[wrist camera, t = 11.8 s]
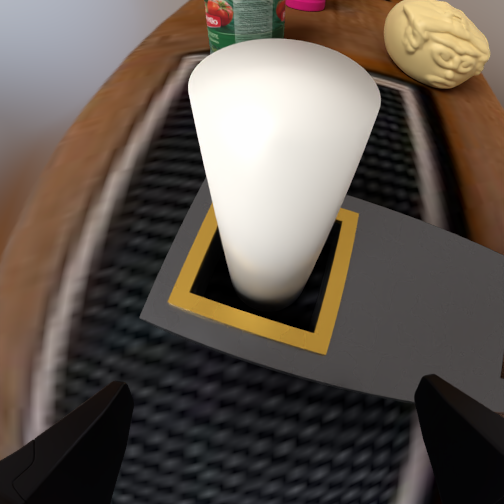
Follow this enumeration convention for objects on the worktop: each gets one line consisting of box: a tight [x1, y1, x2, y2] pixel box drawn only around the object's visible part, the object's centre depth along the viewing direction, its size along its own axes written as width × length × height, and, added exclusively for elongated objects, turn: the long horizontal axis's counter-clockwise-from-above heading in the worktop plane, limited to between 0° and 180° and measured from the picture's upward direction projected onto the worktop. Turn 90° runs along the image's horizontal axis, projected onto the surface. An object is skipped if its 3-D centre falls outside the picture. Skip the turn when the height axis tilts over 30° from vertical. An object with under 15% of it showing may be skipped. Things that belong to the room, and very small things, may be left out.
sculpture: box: [384, 0, 490, 89], centre depth 22 cm, size 11×12×11 cm
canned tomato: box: [205, 0, 286, 55], centre depth 22 cm, size 8×8×11 cm
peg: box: [188, 39, 381, 312], centre depth 11 cm, size 4×4×12 cm
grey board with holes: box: [140, 176, 504, 414], centre depth 14 cm, size 28×10×3 cm, turn 71°
